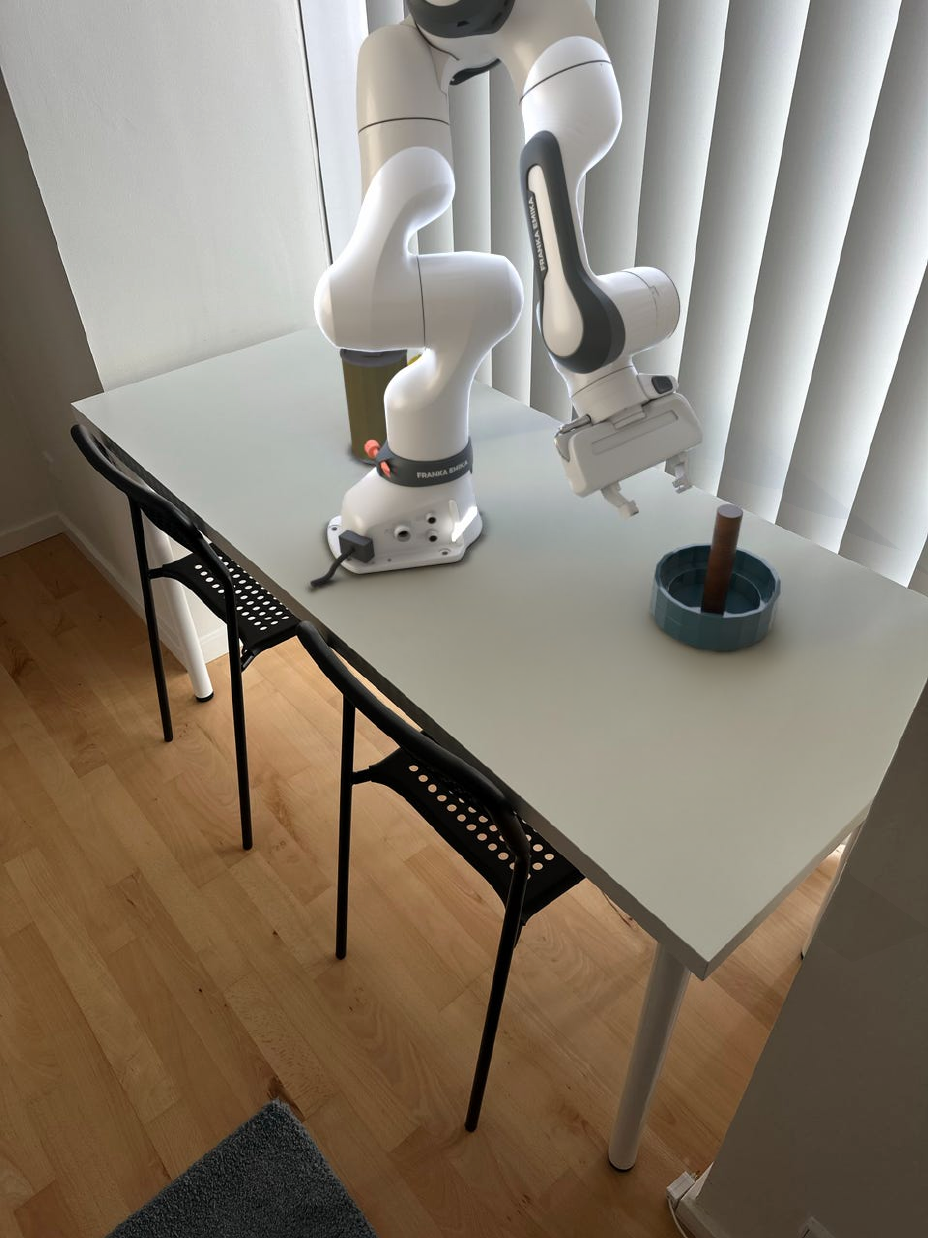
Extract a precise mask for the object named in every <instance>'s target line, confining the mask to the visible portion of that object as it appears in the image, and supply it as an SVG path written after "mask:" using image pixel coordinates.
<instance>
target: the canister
mask: <svg viewBox="0 0 928 1238" xmlns="http://www.w3.org/2000/svg"><path fill="white" fill-rule="evenodd" d="M408 350H409V349H403V350H391V351H379V352H367V351H357V350H349V349H342V348H339V357H340V359H341V366H342V372H343V381H344V390H345V399H346V406H347V415H348V422H349V423H348V424H349V432H350V440H351V447H350V448H351V449H350V450H351V455H352V456H353V457H354V459H356V460H357V461H360V462H361V463H364V464H367V465H373V466H376V463H375V458H371V457H369V455H368V453H367V452H366V451H365V444H367V442H368V441H370V440H375V441H376V442H377V443H378V444H379V446H380V447H381V448H382V447H383V445H384V444H385V442H386V440H387V427H386V416H385V405H384V395H385V391H386V389H387V386H388V385H389V383H390V382H391V380H392V379H393V378H394V377H395V376H396V375H397V374H398V373H399V372H400V371H401V370H403V369H404V368H406V367H408V366H407V364H408V356H407V355H408Z"/></svg>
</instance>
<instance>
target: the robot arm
mask: <svg viewBox="0 0 928 1238" xmlns="http://www.w3.org/2000/svg"><path fill="white" fill-rule="evenodd" d="M405 3H406V7H407V9H408V12H409V13H408V15H407V16H406V17H405V18H404V19H403V20H402V21H399V22H398V23H397V24H389V25H385V26H382V27H380V28H377V29H375V30H374V31H372V32H371V33H370V34H368V35H367V37H366V38H365V39H364V40H363V41H362V43H361V45H360V47H359V51H358V55H357V64H356V65H357V66H356V81H355V82H356V83H355V84H356V85H355V96H356V97H355V99H356V100H355V107H356V128H357V138H358V148H359V149H358V150H359V160H360V161H359V162H360V177H361V178H360V179H361V183H360V184H361V199H360V200H361V201H360V210H359V216H358V220H357V224H356V227H355V229H354V232H353V235H352V236H351V239H350V241H349V242H348V244H347V246H346V247H345V248H344V250H343V252H342V253H341V254H340V256H339V257H338V258H337V259H336V260H335V261H334V262H333V263H332V264H331V265H330V266H329V267H328V268H327V269H326V270H325V271H324V272H323V274H322V276H321V277H320V279H319V280H318V283H317V285H316V289H315V293H314V299H313V300H314V303H313V308H314V314H315V319H316V322H317V324H318V327H319V329H320V331H321V332H322V334H323V336H324V337H325V339H327V340H328V342H329V343H331V344H332V346H334V347H335V348H337V349H341V348H342V349H349V350H357V351H367V352H379V351H391V350H403V349H408V350H413V349H414V350H415V349H425V351H424V352H423V354H421V355H422V356H421V357H420V358H419V359H418V360H417V361H416V362H414V363H413V364H411V365H409V366H408V367H406V368H404V369H403V370H401V371H400V372H399V373H398V374H397V375H396V376H395V377H394V378H393V379H392V380H391V382H390V383H389V385H388V386H387V389H386V391H385V395H384V405H385V416H386V427H387V440H386V442H385V444H384V445H383V447H382V448H381V447H380V446H379V444H378V443H377V442H376V441H375V440H370V441H368V442H367V444H365V451H366V452H367V453H368V455H369V457H371V458H375V463H376V465H375V467H374V468H373V469H372V470H371V471H369V472H368V473H367V474H366V475H365V476H363V477H362V478H361V479H360V480H359V481H358V482H356V483H355V484H354V485H353V486H352V487H351V488H349V490H347V491H346V492H345V494H344V496H343V499H342V504H341V510H340V515H337V516H335V517H333V518H331V519H330V520H329V523H328V525H327V532H326V533H327V534H326V535H327V542H328V546H329V548H330V551H331V552H332V555H333V556H334V558H335V560H334V561H333V563H332V564H331V566H329V567H330V568H329V570H328V571H327V573H325V574H324V575H322V577H319V578H316V579H313V580H310V585H311V587H312V588H315V587H318V586H320V585H323V584H325V583H327V582H329V581H330V580H331V579H332V578H333V577H334V576H335V573H336V571H337V569H338V568H339V566H342V567H343V568H345V569H346V570H348V571H349V572H353V573H354V574H369V573H378V572H384V571H385V572H386V571H393V570H401V569H408V568H417V567H426V566H432V565H439V564H448V563H449V564H450V563H455V562H458V561H461V560H462V559H463V557H464V555H465V552H466V549H467V548H468V547H469V546H470V545H471V544H472V543H474V542H475V541H476V539H477V538H478V537H479V536H480V535H481V532H482V530H483V519H482V517H481V515H480V514H481V513H480V511H479V509H478V506H477V501H476V497H475V492H474V488H473V482H472V481H473V480H472V474H473V466H474V465H473V464H474V449H473V444H472V443H473V442H472V438H471V435H469V409H470V408H469V407H470V406H469V405H470V393H471V388H472V383H473V380H474V378H475V375H476V373H477V371H478V369H479V367H480V365H481V364H482V362H483V361H484V359H485V358H486V357H487V355H488V354H489V353H490V351H491V350H492V349H493V348H494V347H495V346H496V345H497V344H498V343H499V342H500V341H502V340H503V339H504V338H506V337H507V336H508V335H510V334H511V332H512V331H513V330H514V329H515V327H516V325H517V324H518V322H519V320H520V318H521V315H522V312H523V308H524V302H525V301H524V300H525V296H524V294H525V293H524V287H523V286H524V285H523V281H522V279H521V277H520V274H519V272H518V271H517V269H516V267H515V266H514V264H513V263H512V262H511V261H510V260H509V259H508V258H507V257H506V256H504V255H499V254H493V253H487V252H480V251H472V250H471V251H470V250H465V251H452V252H440V253H439V252H438V253H426V254H415V253H411V252H410V251H409V249H408V248H409V247H408V244H409V241H410V239H411V237H412V236H413V235H414V234H415V233H416V232H417V231H419V230H420V229H422V228H424V227H425V226H427V225H429V224H430V223H432V222H433V221H435V220H436V219H437V218H439V217H440V216H442V215H443V213H445V212H446V210H448V208H449V207H450V205H451V204H452V201H453V200H454V197H455V192H456V180H455V170H454V169H455V168H454V157H453V155H454V154H453V143H452V132H451V121H450V110H449V109H450V108H449V88H450V86H458V85H461V84H463V83H464V82H466V81H468V80H470V79H472V78H474V77H476V76H479V75H482V74H485V73H487V72H489V71H491V70H493V69H495V68H496V67H498V66H499V65H501V63H502V64H504V66H505V67H506V69H507V71H508V74H509V76H510V78H511V81H512V83H513V87H514V91H515V94H516V99H517V101H518V104H519V108H520V111H521V112H520V113H521V115H522V116H521V117H522V120H523V126H524V135H525V144H524V146H523V148H522V150H521V153H520V157H519V172H518V173H519V183H520V190H521V191H520V193H521V199H522V205H523V209H524V215H525V221H526V228H527V232H528V237H529V242H530V248H531V253H532V259H533V265H534V270H535V276H536V282H537V289H538V297H539V298H538V300H539V301H538V302H537V305H536V320H537V325H538V329H539V332H540V335H541V339H542V342H543V345H544V347H545V349H546V350H547V352H548V355H549V357H550V359H551V361H552V363H553V366H554V367H555V370H556V371H557V372H558V373H559V374H560V375H561V377H562V378H563V379H564V382H565V384H566V387H567V391H568V396H569V399H570V402H571V404H572V405H573V407H574V409H575V412H576V414H577V416H578V418H576V419H573V420H572V421H570V422H566V423H563V424H561V425H560V426H558V428H557V430H556V432H555V433H554V438H553V444H554V446H555V449H556V451H557V453H558V455H559V457H560V459H561V463H562V466H563V470H564V472H565V475H566V478H567V481H568V483H569V486H570V488H571V491H572V492H573V494H574V495H576V496H578V497H579V498H581V499H584V498H587V497H589V496H591V495H594V494H595V493H597V492H598V493H599V492H601V495H602V497H603V499H604V500H606V502H608V503H610V504H611V505H612V506H613V507H615V508H617V510H618V513H619V514H620V516H621V518H622V519H623V520H628V519H629V518H631V517H634V516H636V515H638V514H639V508H638V507H637V503H636V501H635V499H631V500H628V499H627V498H626V497H625V496H624V495H623V494H622V493H620V491H621V490H622V487H621V485H620V482H622V481H624V480H627V479H629V478H631V477H633V476H635V475H637V474H639V473H641V472H643V471H646V470H648V469H651V468H653V467H655V466H658V465H659V464H662V463H664V462H666V461H668V463H669V465H670V467H671V468H674V470H675V471H674V472H675V480H673V481H671V485H672V487H674V490H675V493H677V494H682V493H684V492H686V491H688V490H690V489H692V488H693V485H694V484H693V482H692V480H691V478H690V476H689V472H690V471H689V469H690V458H689V456H688V454H687V452H688V451H690V450H692V449H694V448H696V447H698V446H699V445H701V444H702V443H703V439H704V432H703V428H702V426H701V424H700V421H699V420H698V418H697V415H696V413H695V412H694V410H693V408H692V406H691V404H690V403H689V401H688V400H687V398H686V397H685V396H683V395H682V394H681V393H679V392H676V391H677V390H678V389H679V382H678V380H677V378H676V377H675V376H674V375H673V374H669V373H668V374H665V373H663V374H661V373H659V374H658V373H657V374H653V373H651V374H650V373H640V372H639V373H638V371H637V370H636V367H635V365H634V364H633V361H632V360H633V359H632V358H633V356H635V355H638V354H639V353H641V352H644V351H647V350H651V349H654V348H656V347H658V346H660V344H662V343H664V341H666V340H668V339H669V338H671V336H672V335H673V334H674V333H675V330H677V327H678V324H679V320H680V317H681V299H680V294H679V292H678V289H677V287H676V284H675V283H674V282H673V280H672V279H671V277H670V275H668V274H667V273H666V272H665V271H664V270H662V269H660V268H658V267H655V266H636V267H631V268H626V269H623V270H617V271H614V272H611V273H607V274H602V275H601V274H600V275H596V274H595V273H594V272H593V271H592V269H591V267H590V263H589V260H588V256H587V250H586V249H587V248H586V244H585V238H584V233H583V227H582V221H581V215H580V210H579V205H578V193H579V188H580V183H581V181H582V180H583V178H584V176H585V174H587V172H588V171H589V170H590V169H592V168H593V167H594V166H595V165H596V164H598V163H599V162H600V161H601V160H602V159H603V158H604V157H605V156H606V154H607V153H608V152H609V151H610V149H611V148H612V146H613V145H614V143H615V141H616V139H617V137H618V136H619V135H618V134H619V133H620V129H621V126H622V121H623V110H622V109H623V108H622V99H621V94H620V93H621V92H620V89H619V85H618V82H617V78H616V75H615V71H614V67H613V65H612V61H611V57H610V55H609V52H608V51H609V50H608V48H607V46H606V43H605V40H604V37H603V36H602V32H601V29H600V27H599V25H598V22H597V20H596V18H595V16H594V13H593V11H592V9H591V7H590V4H589V3H588V1H587V0H405ZM452 79H453V80H452Z"/></svg>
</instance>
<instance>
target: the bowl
mask: <svg viewBox="0 0 928 1238" xmlns="http://www.w3.org/2000/svg"><path fill="white" fill-rule="evenodd" d="M711 543H712V542H700V543H699V542H698V543H691V544H687V545H682V546H679V547H676V548H673V549H672V550H671V551H669V552H667V553H665V554H664V555H663V556H662V557H661V558H660V559H659V561H658V562H657V563H656V565H655V569H654V574H653V582H652V590H651V597H650V598H651V599H650V606H649V608H650V611H651V616H652V618H653V621H654V622H655V623H656V624H657V625H658V626H659V628H660V629H661V630H662V631H663V632H664V633H666V635H668V636H670V637H672V638H673V639H675V640H676V641H678V642H680V643H683V644H685V645H688V646H691V647H694V648H696V649H702V650H710V651H715V652H716V651H735V650H740V649H742V648H747V647H750V646H753V645H755V644H757V643H758V642H759V641H761V640H763V639H764V638H766V636H768V634H769V632H770V631H771V630H772V628H773V625H774V622H775V619H776V618H775V617H776V612H777V609H778V604H779V601H780V597H781V590H782V589H781V586H782V585H781V583H782V581H781V579H780V577H779V575H778V573H777V571H776V569H775V568H774V567H773V566H772V565H771V564H770V563H769V562H767V561H766V559H764V558H763V557H761V556H760V555H757V554H756V553H753V552H752V551H750V550H748V549H744V548H742V547H738V546H737V549H736V554H735V559H734V564H733V570H732V575H731V580H730V586H729V591H728V596H727V601H726V607H725V612H724V613H723V614H722V615H720V614H713V613H705V612H702V611H701V603H702V597H703V591H704V585H705V579H706V573H707V567H708V561H709V555H710V549H711Z"/></svg>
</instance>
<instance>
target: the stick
mask: <svg viewBox="0 0 928 1238" xmlns="http://www.w3.org/2000/svg"><path fill="white" fill-rule="evenodd" d="M743 516H744V510H743V508H741V507H740V506H739V505H736V504H732V503H723V504H721V505H719V506H718V507H717V509H716V515H715V520H714V524H713V525H714V526H713V532H712V538H711V542H710V543H711V549H710V555H709V561H708V567H707V573H706V579H705V585H704V591H703V597H702V603H701V611H702V612H705V613H713V614H720V615H722V614H723V613H724V612H725V607H726V601H727V596H728V591H729V586H730V580H731V575H732V570H733V564H734V559H735V554H736V549H737V547H738V542H739V537H740V532H741V528H742V521H743V518H744V517H743Z"/></svg>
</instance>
